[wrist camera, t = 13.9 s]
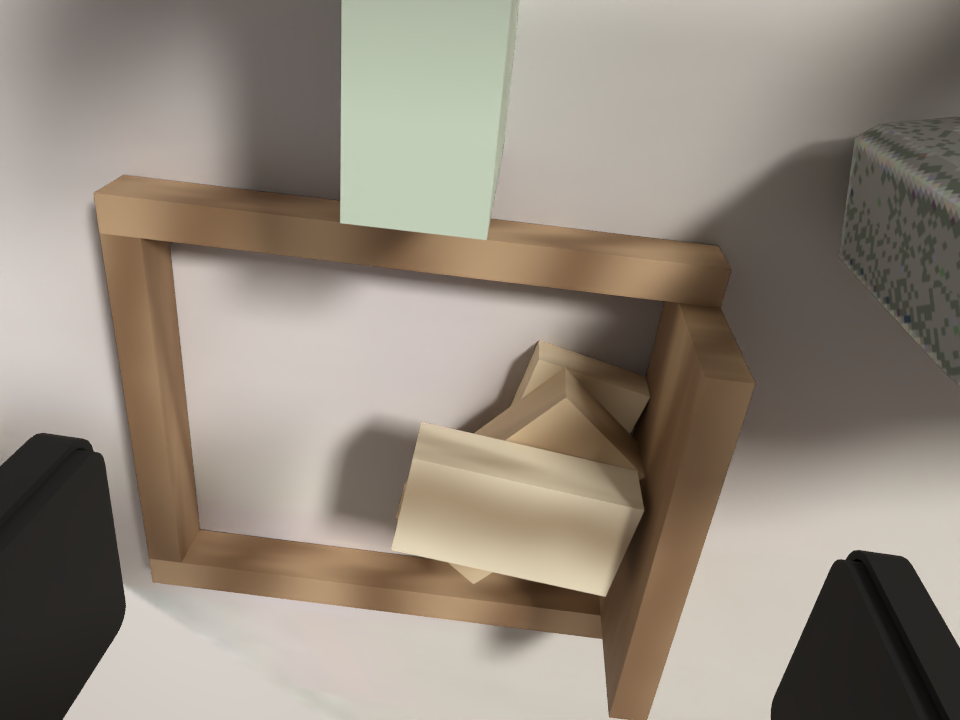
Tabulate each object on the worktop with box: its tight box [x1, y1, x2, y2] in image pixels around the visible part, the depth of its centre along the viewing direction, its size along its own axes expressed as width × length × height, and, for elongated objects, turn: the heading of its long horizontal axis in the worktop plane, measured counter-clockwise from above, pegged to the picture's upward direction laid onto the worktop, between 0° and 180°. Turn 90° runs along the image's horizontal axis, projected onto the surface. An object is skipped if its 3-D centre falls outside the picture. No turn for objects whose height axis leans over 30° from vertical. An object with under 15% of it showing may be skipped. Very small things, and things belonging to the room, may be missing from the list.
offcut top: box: [391, 422, 644, 597], centre depth 31 cm, size 5×9×2 cm, turn 77°
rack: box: [94, 175, 756, 720], centre depth 32 cm, size 24×20×8 cm
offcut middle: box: [396, 367, 645, 584], centre depth 34 cm, size 5×10×2 cm, turn 133°
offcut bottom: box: [510, 340, 650, 433], centre depth 36 cm, size 5×10×2 cm, turn 161°
